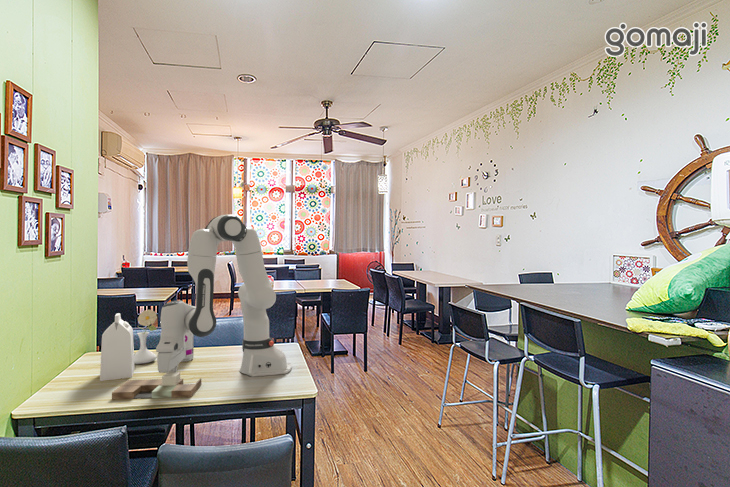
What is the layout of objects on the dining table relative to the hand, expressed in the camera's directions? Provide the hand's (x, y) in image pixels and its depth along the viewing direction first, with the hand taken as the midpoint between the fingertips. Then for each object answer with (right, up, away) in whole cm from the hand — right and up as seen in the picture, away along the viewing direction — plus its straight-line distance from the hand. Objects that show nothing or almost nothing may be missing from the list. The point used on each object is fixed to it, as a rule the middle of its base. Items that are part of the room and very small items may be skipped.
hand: (172, 376), depth 167 cm
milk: (-30, -4, +13) cm, 33 cm away
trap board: (-3, -4, -6) cm, 7 cm away
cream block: (+1, -1, -4) cm, 5 cm away
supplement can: (-11, -3, +35) cm, 37 cm away
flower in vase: (-27, -3, +31) cm, 41 cm away
